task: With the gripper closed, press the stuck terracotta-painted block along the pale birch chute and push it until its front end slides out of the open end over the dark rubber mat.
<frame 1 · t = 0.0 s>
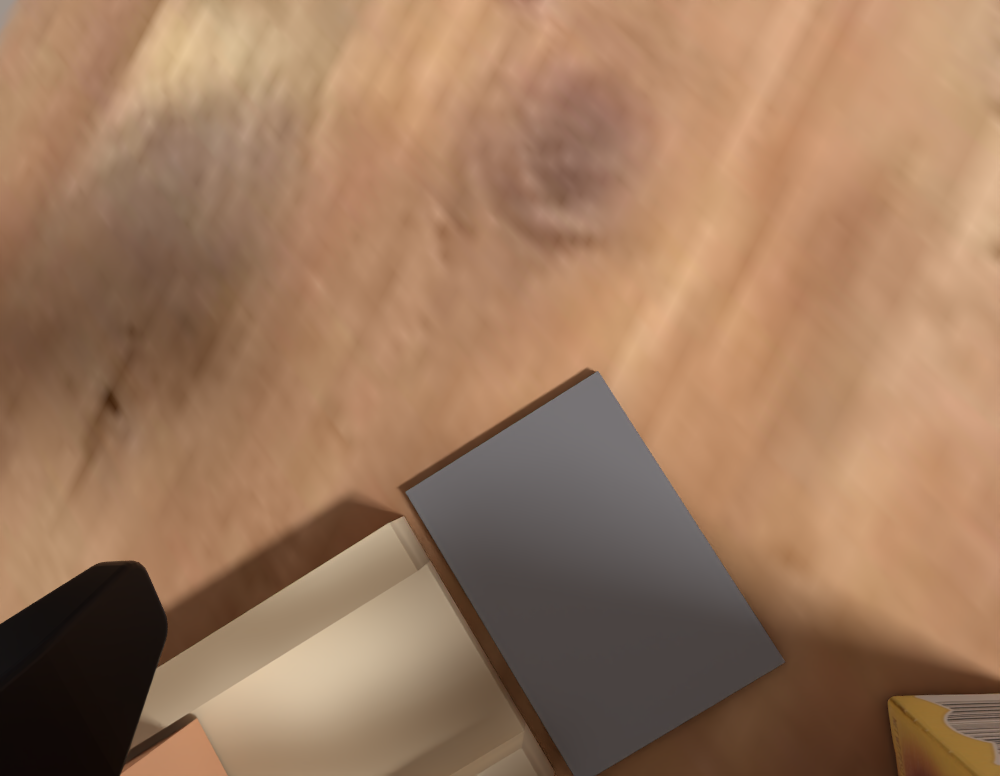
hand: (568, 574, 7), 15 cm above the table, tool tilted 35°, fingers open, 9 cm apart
mat: (588, 572, 22), on the table
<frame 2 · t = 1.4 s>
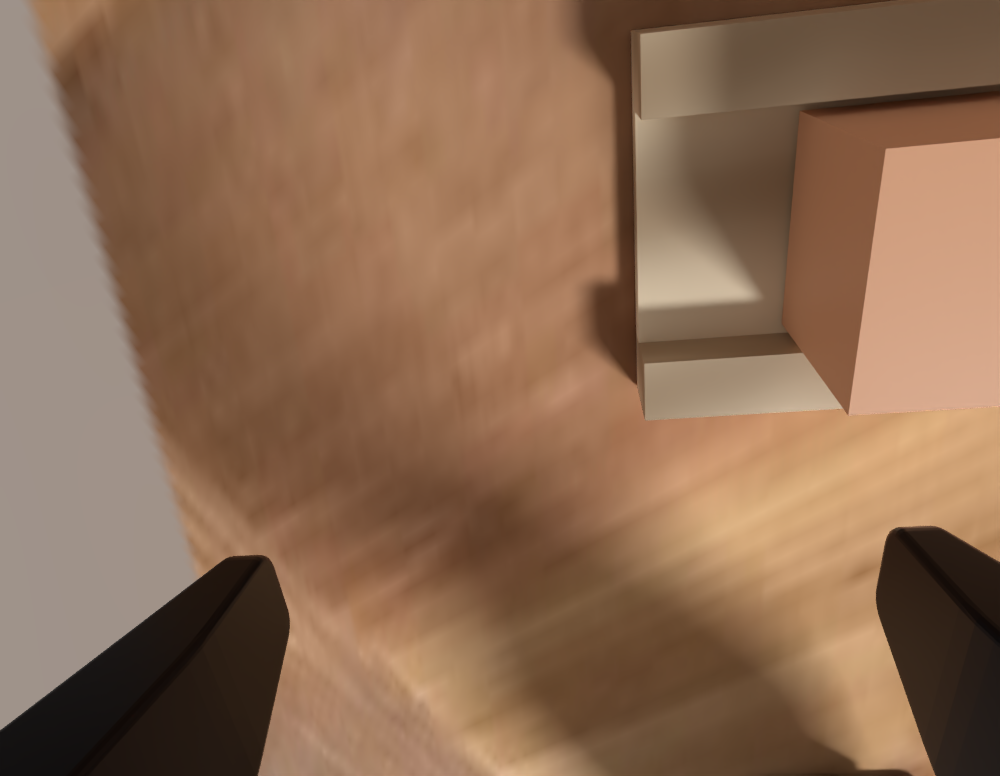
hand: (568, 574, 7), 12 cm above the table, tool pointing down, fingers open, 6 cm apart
block: (951, 244, 15), point 3 cm above the table, slide at 0.0 cm
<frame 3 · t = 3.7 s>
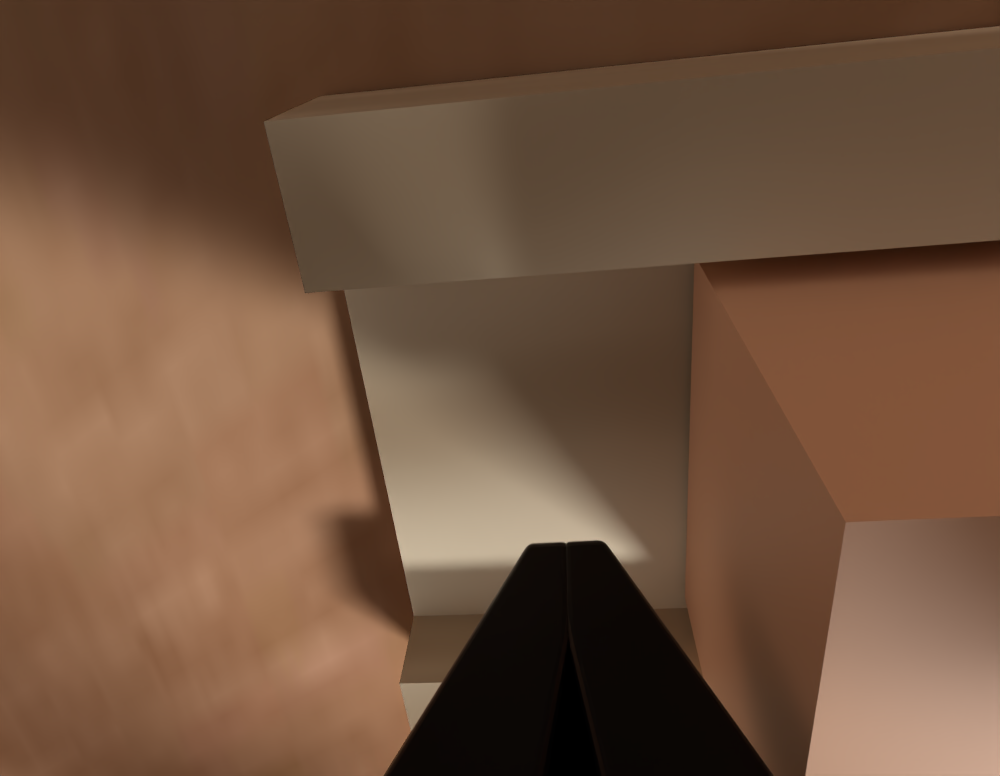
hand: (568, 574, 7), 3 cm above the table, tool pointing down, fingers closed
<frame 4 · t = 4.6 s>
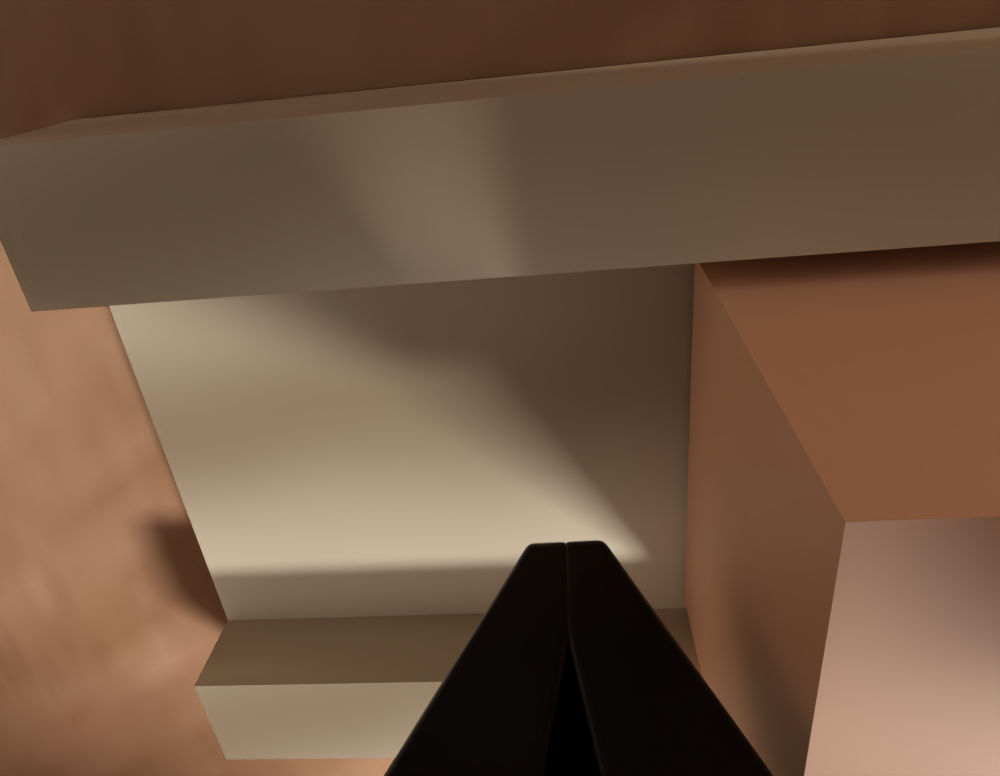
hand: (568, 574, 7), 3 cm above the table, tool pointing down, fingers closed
chute: (809, 413, 9), on the table
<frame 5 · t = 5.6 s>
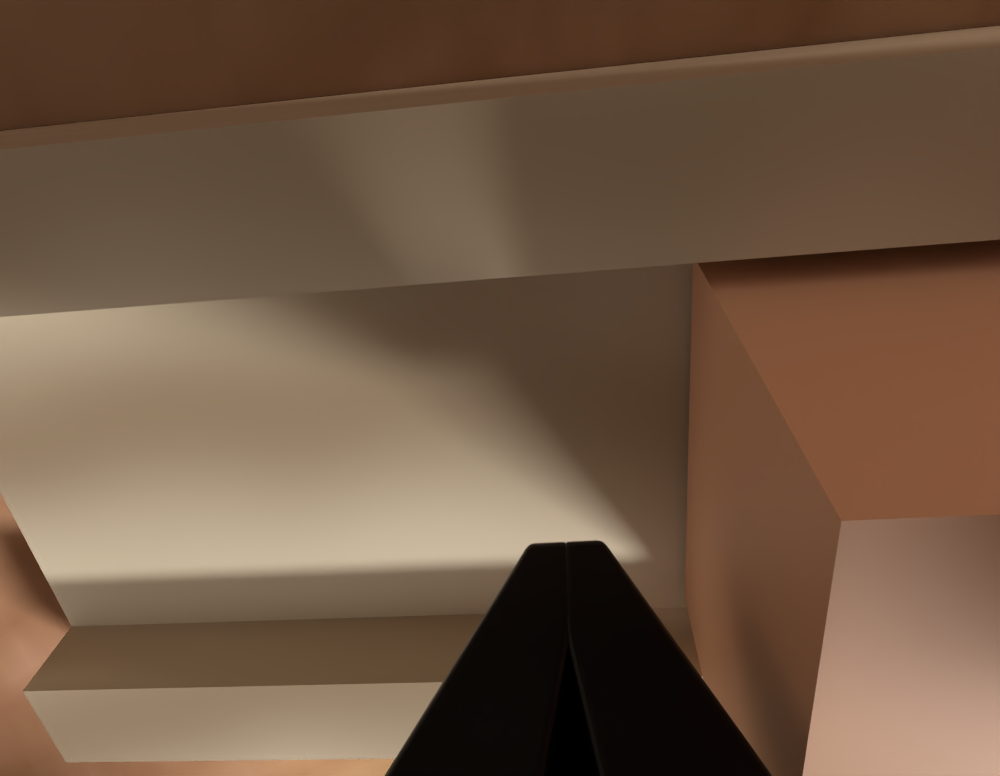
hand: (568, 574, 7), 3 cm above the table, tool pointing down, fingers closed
chute: (609, 423, 10), on the table
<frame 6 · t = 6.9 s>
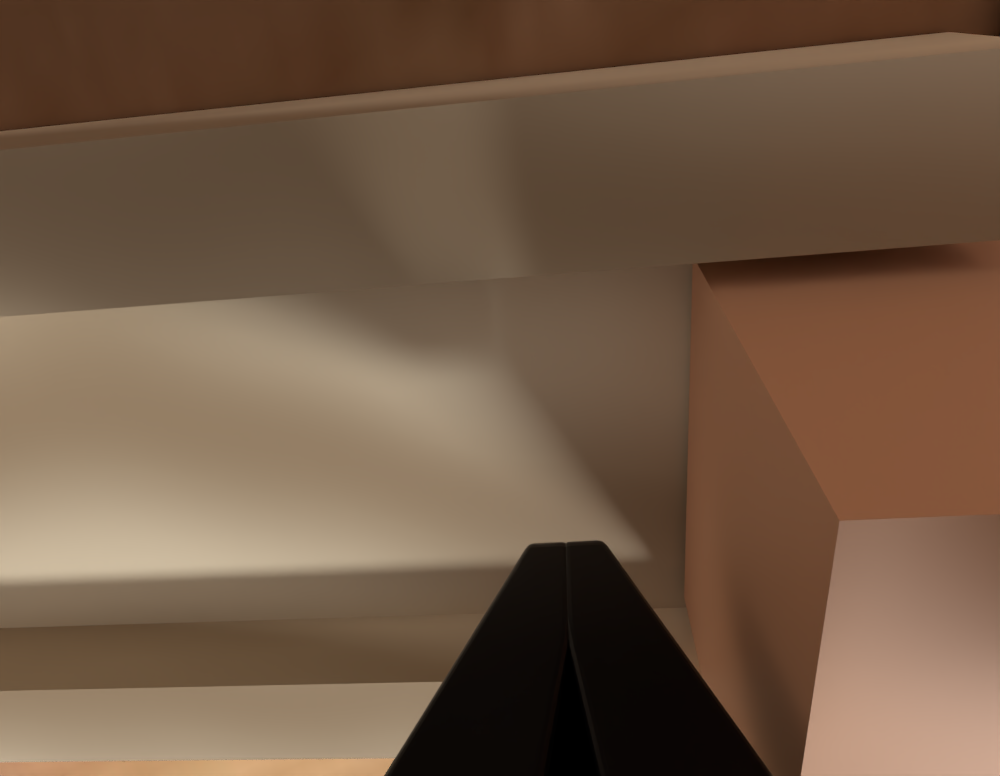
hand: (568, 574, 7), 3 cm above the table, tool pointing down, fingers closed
chute: (254, 443, 10), on the table
block: (999, 566, 7), point 3 cm above the table, slide at 10.9 cm, touching gripper
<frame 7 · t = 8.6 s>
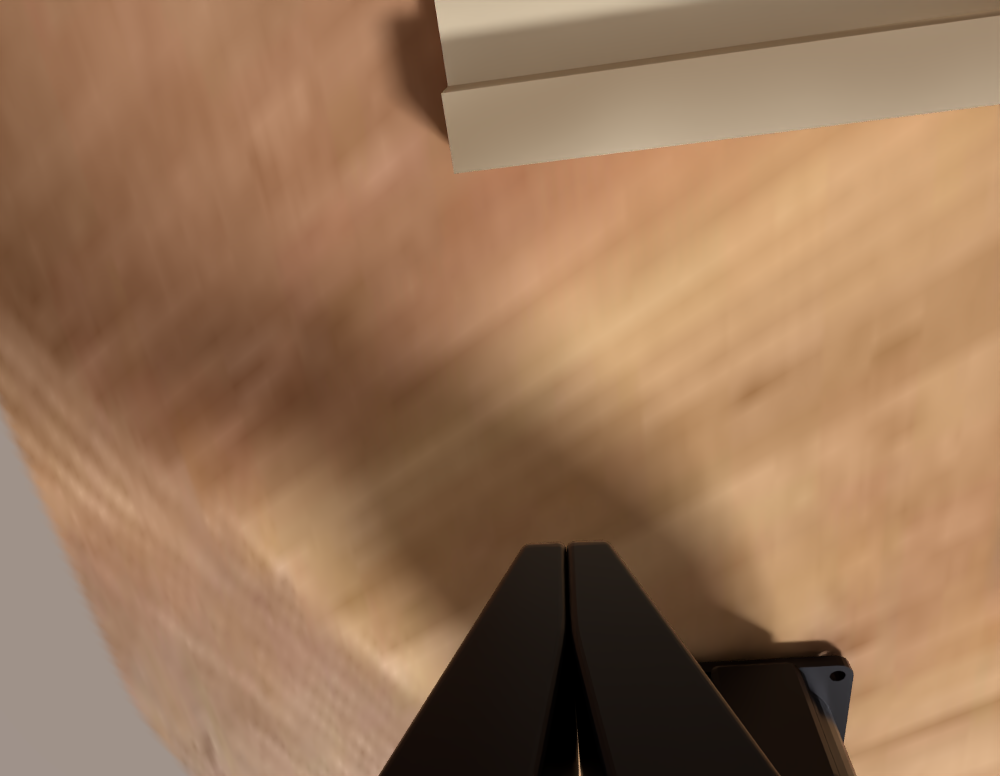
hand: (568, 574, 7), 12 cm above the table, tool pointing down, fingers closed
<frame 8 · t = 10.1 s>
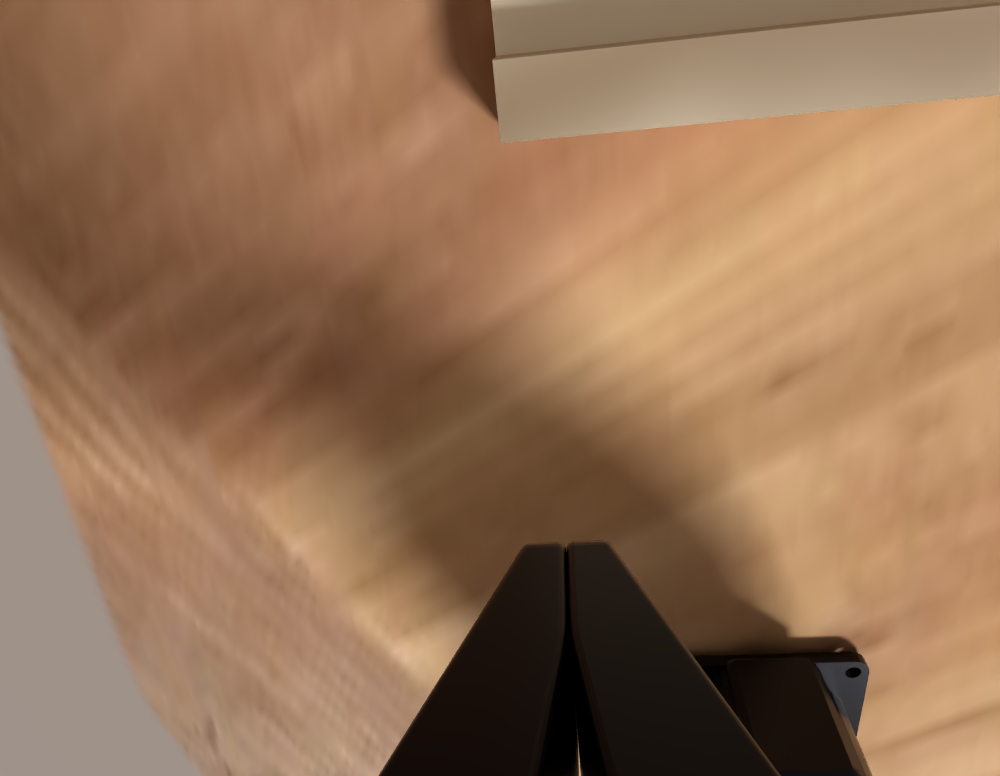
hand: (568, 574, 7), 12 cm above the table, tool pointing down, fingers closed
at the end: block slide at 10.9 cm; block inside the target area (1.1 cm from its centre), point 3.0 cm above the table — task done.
